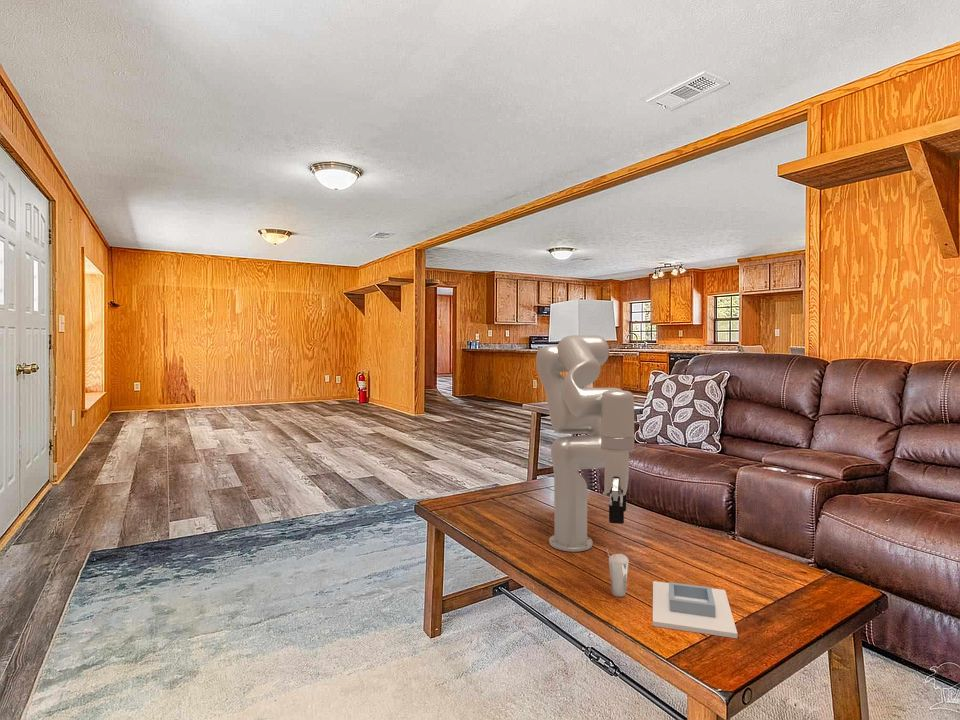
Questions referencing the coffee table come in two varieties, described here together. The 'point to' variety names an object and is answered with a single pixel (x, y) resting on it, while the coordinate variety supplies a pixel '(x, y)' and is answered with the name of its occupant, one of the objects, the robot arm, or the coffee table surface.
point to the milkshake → (618, 573)
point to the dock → (692, 609)
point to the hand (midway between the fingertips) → (617, 516)
